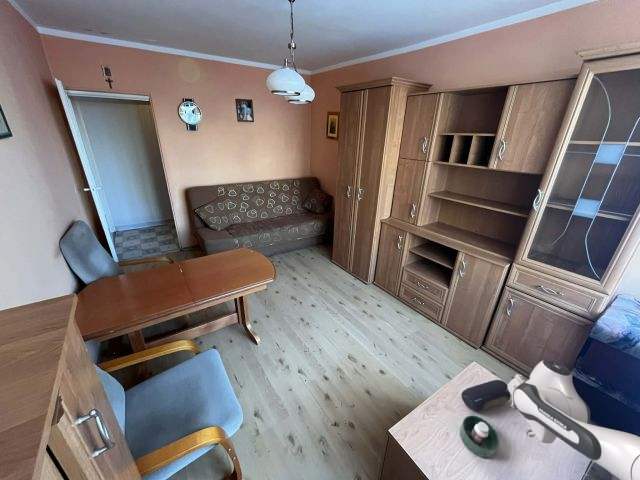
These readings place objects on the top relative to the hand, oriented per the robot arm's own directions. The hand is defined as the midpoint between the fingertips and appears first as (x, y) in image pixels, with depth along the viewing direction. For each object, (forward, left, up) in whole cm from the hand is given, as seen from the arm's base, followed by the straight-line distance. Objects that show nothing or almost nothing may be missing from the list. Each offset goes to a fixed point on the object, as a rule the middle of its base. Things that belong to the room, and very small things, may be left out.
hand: (521, 420), depth 98 cm
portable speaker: (+27, -8, -29) cm, 41 cm away
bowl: (+8, +4, -29) cm, 30 cm away
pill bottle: (+8, +4, -29) cm, 30 cm away
